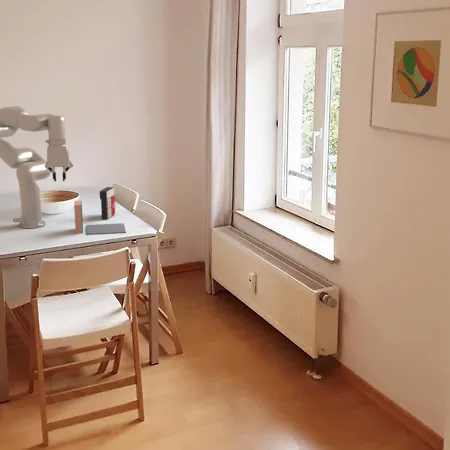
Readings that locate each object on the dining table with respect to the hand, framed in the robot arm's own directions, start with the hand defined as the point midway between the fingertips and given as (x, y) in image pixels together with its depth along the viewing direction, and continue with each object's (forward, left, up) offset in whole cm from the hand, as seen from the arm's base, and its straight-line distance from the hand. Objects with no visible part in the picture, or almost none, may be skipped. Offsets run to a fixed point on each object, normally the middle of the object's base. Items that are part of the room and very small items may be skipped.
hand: (59, 180), depth 308 cm
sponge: (+8, 0, -25) cm, 26 cm away
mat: (+21, 0, -25) cm, 33 cm away
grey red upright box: (+23, +24, -25) cm, 42 cm away
